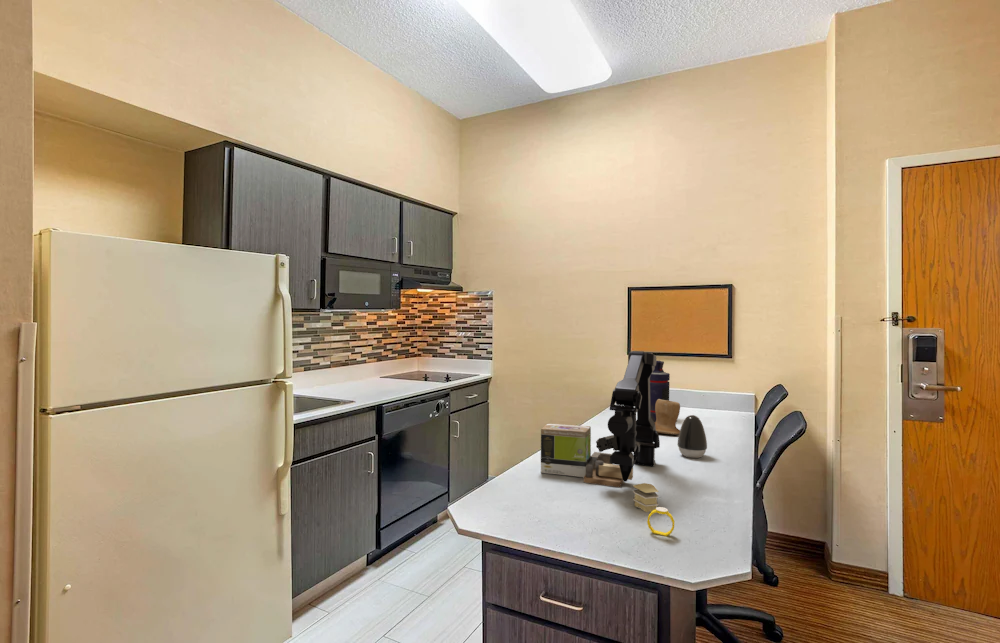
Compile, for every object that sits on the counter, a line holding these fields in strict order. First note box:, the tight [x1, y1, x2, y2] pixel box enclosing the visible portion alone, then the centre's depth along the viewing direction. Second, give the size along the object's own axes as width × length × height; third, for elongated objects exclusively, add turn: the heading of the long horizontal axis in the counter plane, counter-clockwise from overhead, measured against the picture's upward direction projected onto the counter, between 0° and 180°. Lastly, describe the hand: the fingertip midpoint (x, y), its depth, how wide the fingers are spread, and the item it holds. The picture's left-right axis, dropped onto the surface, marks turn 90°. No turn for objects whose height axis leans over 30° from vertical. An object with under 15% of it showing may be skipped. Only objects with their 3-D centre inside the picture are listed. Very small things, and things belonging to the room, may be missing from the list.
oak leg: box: [596, 460, 634, 481], centre depth 155 cm, size 11×3×4 cm, turn 68°
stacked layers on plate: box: [632, 482, 659, 513], centre depth 135 cm, size 10×9×6 cm
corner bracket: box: [590, 451, 612, 470], centre depth 165 cm, size 6×6×4 cm
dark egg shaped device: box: [677, 414, 708, 459], centre depth 185 cm, size 10×10×15 cm
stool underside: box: [583, 464, 624, 488], centre depth 160 cm, size 11×17×5 cm, turn 158°
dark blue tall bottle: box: [650, 360, 670, 423], centre depth 247 cm, size 14×12×30 cm
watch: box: [646, 506, 675, 537], centre depth 118 cm, size 6×3×6 cm, turn 67°
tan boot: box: [654, 399, 681, 435], centre depth 223 cm, size 15×12×15 cm
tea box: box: [540, 423, 592, 478], centre depth 165 cm, size 15×10×15 cm
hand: (625, 481), depth 149 cm, fingers closed
